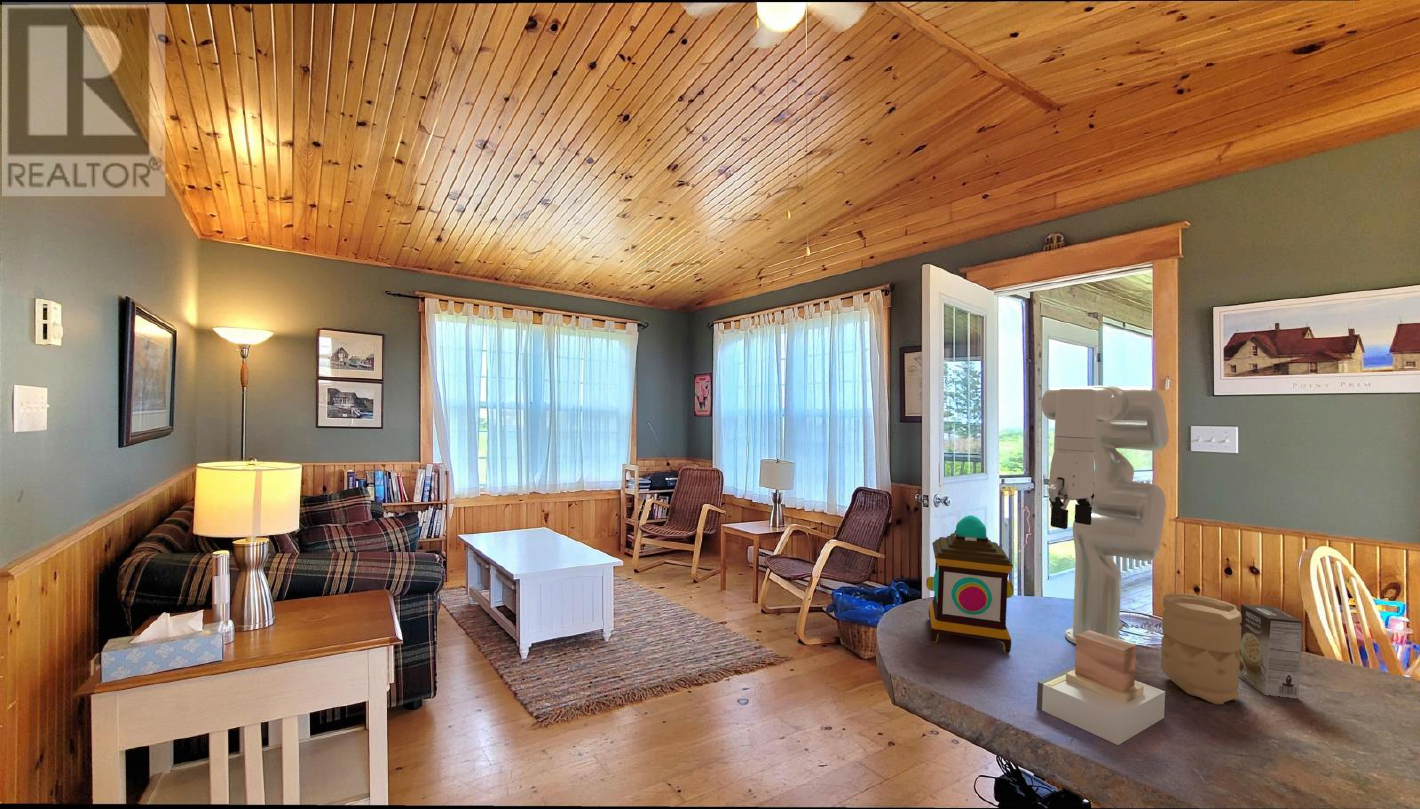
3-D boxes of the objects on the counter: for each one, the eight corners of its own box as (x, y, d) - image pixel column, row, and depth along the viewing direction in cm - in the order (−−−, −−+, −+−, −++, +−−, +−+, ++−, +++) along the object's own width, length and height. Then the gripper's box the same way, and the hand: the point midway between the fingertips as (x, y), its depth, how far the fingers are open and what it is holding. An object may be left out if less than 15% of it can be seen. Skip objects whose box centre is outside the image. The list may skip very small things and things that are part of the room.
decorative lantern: (923, 616, 162) (927, 505, 162) (1004, 627, 156) (1009, 511, 155) (925, 644, 143) (930, 518, 143) (1018, 658, 137) (1023, 527, 136)
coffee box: (1235, 675, 132) (1238, 602, 132) (1269, 679, 131) (1272, 605, 130) (1264, 695, 123) (1268, 617, 123) (1301, 699, 122) (1305, 620, 121)
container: (1245, 693, 123) (1249, 606, 123) (1228, 711, 116) (1232, 618, 116) (1170, 670, 133) (1174, 589, 133) (1150, 685, 126) (1154, 599, 126)
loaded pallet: (1085, 672, 119) (1087, 627, 119) (1143, 694, 111) (1145, 645, 111) (1065, 680, 115) (1067, 634, 115) (1124, 704, 107) (1126, 654, 107)
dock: (1084, 685, 124) (1085, 661, 124) (1164, 717, 113) (1165, 690, 112) (1036, 707, 115) (1037, 681, 115) (1118, 745, 103) (1119, 715, 103)
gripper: (1076, 443, 136) (1073, 519, 136) (1034, 444, 126) (1031, 525, 127) (1113, 446, 129) (1110, 525, 130) (1071, 447, 120) (1068, 533, 120)
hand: (1071, 525), depth 128 cm, fingers open, 9 cm apart
